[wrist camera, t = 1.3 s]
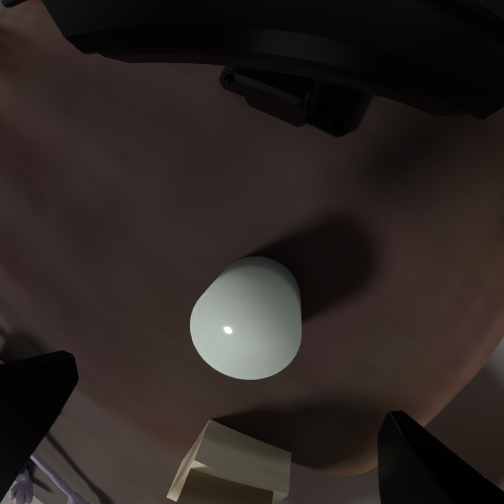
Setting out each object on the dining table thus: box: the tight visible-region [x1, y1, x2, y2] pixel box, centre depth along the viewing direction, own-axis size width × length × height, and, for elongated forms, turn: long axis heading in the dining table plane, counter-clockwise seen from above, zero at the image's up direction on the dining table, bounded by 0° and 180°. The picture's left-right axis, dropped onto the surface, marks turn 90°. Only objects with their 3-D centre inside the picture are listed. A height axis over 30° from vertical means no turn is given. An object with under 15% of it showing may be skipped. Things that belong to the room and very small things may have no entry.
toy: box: [0, 360, 90, 504], centre depth 20 cm, size 26×9×30 cm
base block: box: [167, 419, 292, 504], centre depth 17 cm, size 6×6×4 cm
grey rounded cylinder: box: [190, 256, 302, 380], centre depth 14 cm, size 4×4×4 cm
